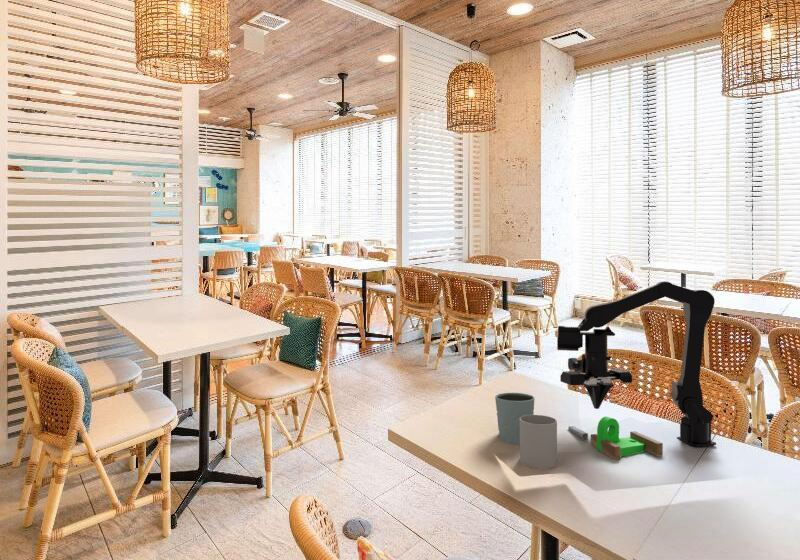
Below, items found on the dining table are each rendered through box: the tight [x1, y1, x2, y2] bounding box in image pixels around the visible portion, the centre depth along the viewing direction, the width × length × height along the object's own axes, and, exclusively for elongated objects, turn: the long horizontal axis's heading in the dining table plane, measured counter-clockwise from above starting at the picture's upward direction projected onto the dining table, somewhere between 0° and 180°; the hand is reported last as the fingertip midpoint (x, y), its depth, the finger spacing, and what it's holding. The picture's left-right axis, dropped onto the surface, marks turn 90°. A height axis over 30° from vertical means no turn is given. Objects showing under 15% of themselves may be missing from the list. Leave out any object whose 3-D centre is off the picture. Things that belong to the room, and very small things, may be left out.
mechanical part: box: [595, 416, 645, 457], centre depth 124 cm, size 12×6×8 cm, turn 117°
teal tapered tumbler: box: [494, 392, 535, 446], centre depth 131 cm, size 10×10×12 cm
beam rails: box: [590, 430, 664, 461], centre depth 124 cm, size 13×10×3 cm
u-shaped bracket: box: [567, 425, 589, 442], centre depth 132 cm, size 12×8×3 cm, turn 102°
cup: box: [519, 414, 558, 470], centre depth 116 cm, size 8×8×10 cm
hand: (596, 408), depth 136 cm, fingers closed
